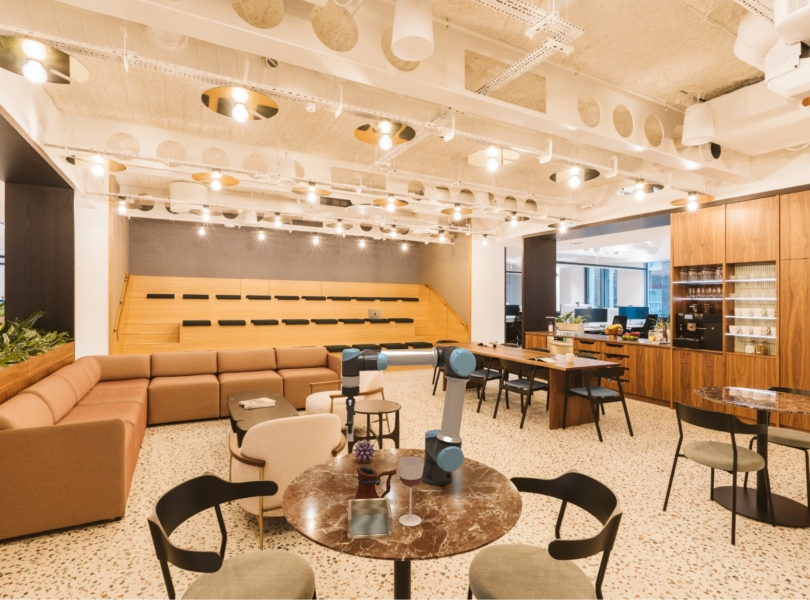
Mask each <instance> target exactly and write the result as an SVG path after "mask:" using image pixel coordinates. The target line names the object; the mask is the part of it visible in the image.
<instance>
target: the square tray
mask: <svg viewBox="0 0 810 600" xmlns="http://www.w3.org/2000/svg"><path fill="white" fill-rule="evenodd" d="M353 499H354V498H353ZM353 499H348V500H347V540H351V539H353V540H354V539H355V540H356V539H368V538H369V539H372V538H389V537H390V538H391V537H393V519H394V518H393V513H392V507H391V502H390V498H389V497H384V498H381V497H380V498H376V499H354V500H353Z"/></svg>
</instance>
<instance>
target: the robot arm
mask: <svg viewBox="0 0 810 600" xmlns="http://www.w3.org/2000/svg"><path fill="white" fill-rule="evenodd" d="M390 366H391V367H399V366H401V367H402V366H408V367H409V366H432V368H440V369H441V368H442V369H445V370H444V377H445V379H446V380H447V381H446V387H445V388H446V389H445V394H444V404H443V410H442V418H441V425H440V429H429V430H427V431H426V432H425V434H424V468H423V474H422V479H421V481H422V482H423V483H425V484H427V485H431V486H445V485H449V484H450V483H452V481H453V473H452V472H455V471H456V470H458V469H459V468H461V467H462V465H463V463H464V460H465V455H464V452H463V450H462V445H463V439H462V438H461V436H460V433H461V425H462V417H463V409H464V401H465V396H466V395H465V394H466V389H467V388H466V387H467V383H468V382H470V381H471V377H472V376H471V375H472V374H473V373H474V371H475V370H476V366H477V359H476V357H475V355H474V354H473V352H472V351H470V350H468V349H466V348H463V347H460V346H457V345H456V346H455V345H447V346H433V347H431V349H428V348H427V349H425V348H424V349H418V348H417V349H372V348H371V349H370V348H367V349H363V350H362V351H360V349H359V348H345V349H343V350H342V354H341V377H340V379H339V381H341V385H342V386H341V395H342V396H343V397H347V398H346V399H345V405H346V407H345V408H346V409H345V410H346V423H345V424H344V427H346V442H348V443H349V442H354V431H355V416H356V412H355V406H356V398H355V397H357V396H359V395H360V394H361V393H360V384H361V382H360V381H361V379H360V378H361V377H360V376H361V375H360V372H372V371H373V372H375V371H376V372H380V371H386V370H388V367H390Z"/></svg>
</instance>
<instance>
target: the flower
mask: <svg viewBox="0 0 810 600" xmlns="http://www.w3.org/2000/svg"><path fill="white" fill-rule="evenodd" d="M357 442H358V443H357V444H358V445H356V444H355V445H354V447H356V448H354V449H353V452H354V454H355V455H354V458H358V460H357V461H358V462H360V461H363V463H366V461H369V462H371V460H372V457H373V458H375V455H374V454H375V452H376V449H374V447H375V443H371V440H368V441H366V438H365V439H363V440H362V441H361V440H358V441H357Z"/></svg>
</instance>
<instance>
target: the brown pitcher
mask: <svg viewBox="0 0 810 600" xmlns="http://www.w3.org/2000/svg"><path fill="white" fill-rule="evenodd" d="M356 472H357V481H358V483H357V488H356V489H357V490H356V493H355V497H354V498H353V499H352V500H354V499H376V498H385V497H386V495H388V494H389V493H390V492H391V489H392V488H391V487H392V486H391V480H392V477H393V475H394V476H395V475H397V469H395V468H394V469H392V470H389V471H387V470H386V471H383V472H379V474H378V471H377V470H375V469H374V468H372V467H369V466H365V465H363V466H359V467H357V468H356ZM383 476H387V479H386V481H385V487H386V488H385V491H383V492H382V494H381V496H379V494H378V493H377V490H376V486H377V487H378V486H380V484H381V482H382V479H381V478H383Z"/></svg>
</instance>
